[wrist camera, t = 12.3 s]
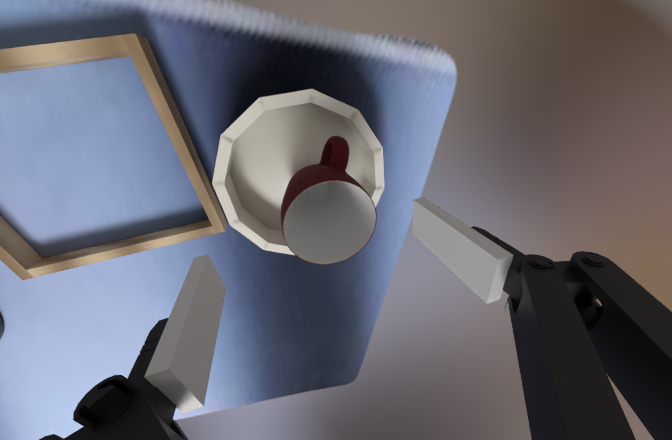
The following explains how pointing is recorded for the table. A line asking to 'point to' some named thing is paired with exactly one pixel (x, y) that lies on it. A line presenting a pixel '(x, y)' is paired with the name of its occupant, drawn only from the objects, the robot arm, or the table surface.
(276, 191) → the bowl
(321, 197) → the mug
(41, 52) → the frame tray
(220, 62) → the table surface
